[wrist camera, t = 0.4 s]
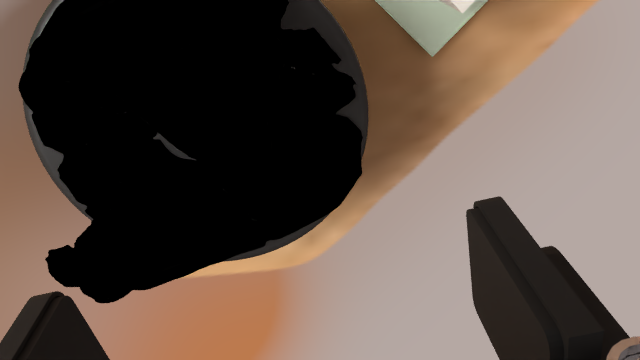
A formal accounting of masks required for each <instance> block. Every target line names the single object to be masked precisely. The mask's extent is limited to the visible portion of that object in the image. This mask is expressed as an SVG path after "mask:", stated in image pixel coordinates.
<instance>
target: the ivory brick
mask: <svg viewBox="0 0 640 360" xmlns="http://www.w3.org/2000/svg"><path fill="white" fill-rule="evenodd" d="M440 1H441V2H443V3H445V4H447V5H448V6H450V7H452V8H454V9H456V10H457V11H459V12H461V13H464V12H465V11H466V10H467V9H468V8H469V6H470V5H471V4H472V3H473V2H474V1H475V0H440Z"/></svg>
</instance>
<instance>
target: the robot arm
mask: <svg viewBox="0 0 640 360" xmlns="http://www.w3.org/2000/svg"><path fill="white" fill-rule="evenodd" d="M466 213H467V214H466V217H467V229H468V243H469V256H470V267H471V280H472V294H473V301H474V306H475V309H476V311H477V314H478V316H479V318H480V320H481V322H482V324H483V326H484V328H485V330H486V332H487V335H488V336H489V338H490V341H491V343H492V345H493V347H494V349H495V351H496V353H497V355H498V357H499V359H500V360H640V337H631V338H630V337H629V336H628V335H627V333H626V332H625V331H624V330H623V328H622V327H621V326H620V325H619V324H618V323H617V321H616V320H615V319H614V318H613V316H612V315H611V314H610V313H609V312H608V310H607V309H606V308H605V307H604V305H603V304H602V303H601V302H600V301H599V299H598V298H597V297H596V296H595V294H594V293H593V292H592V291H591V289H590V288H589V287H588V286H587V284H586V283H585V282H584V281H583V280H582V278H581V277H580V276H579V275H578V273H577V272H576V271H575V270H574V268H573V267H572V266H571V265H570V264H569V262H568V261H567V260H566V259H565V257H564V256H563V255H562V254H561V253H560V252H559V250H557V249H556V248H555V247H553V246H549V247H544V248H540V247H539V245H538V244H537V243H536V241H535V240H534V239H533V238H532V236H531V235H530V234H529V232H528V231H527V230H526V228H525V227H524V226H523V224H522V223H521V222H520V220H519V219H518V218H517V217H516V215H515V214H514V213H513V211H512V210H511V209H510V207H509V206H508V205H507V204H506V202H505V201H504V200H503V199H502V198H501V197H494V198H489V199H485V200H480V201H476V202H474V209H469V210H467V212H466ZM0 360H110V359H109V358H108V356H107V355H106V353H105V351H104V350H103V348H102V346H101V345H100V343H99V342H98V340H97V339H96V337H95V336H94V334H93V332H92V330H91V329H90V327H89V325H88V324H87V322H86V321H85V319H84V317H83V316H82V314H81V313H80V311H79V309H78V308H77V306H76V304H75V303H74V301H73V300H72V299H71V298H70V297H69V296H64V294H63V293H61V292H52V293H46V294H42V295H37V296H33V297H31V298H30V299H29V300H28V302H27V303H26V305H25V306H24V308H23V309H22V311H21V312H20V314H19V315H18V317H17V318H16V320H15V321H14V323H13V324H12V326H11V327H10V329H9V330H8V332H7V333H6V335H5V336H4V338H3V340H2V341H1V343H0Z"/></svg>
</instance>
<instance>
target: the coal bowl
mask: <svg viewBox="0 0 640 360" xmlns="http://www.w3.org/2000/svg"><path fill="white" fill-rule="evenodd" d="M19 91H20V93H21V96H22V98H23V105H24V112H25V118H26V122H27V126H28V129H29V133H30V137H31V139H32V142H33V144H34V147H35V150H36V152H37V154H38V156H39V158H40V160H41V162H42V164H43V166H44V167H45V169H46V170H47V172H48V174H49V175H50V177H51V178H52V180H53V181H54V183H55V184H56V185H57V187H58V188H59V189H60V190H61V192H62V193H63V194H64V195H65V196H66V197H67V198H68V199H69V201H70V202H71V203H72V204H73V205H74V206H75V207H77V209H79V210H80V211H81V212H82V213H83V214H84V215H85V216H86V217H88V218H89V219H90V220H91V221H92V222H91V225H90V226H88V227H87V229H86V230H85V231H84V232H83V233H82V234H81V235H80V236H79V237H78V238H77V240H76V242H75V243H74V248H72V247H70V246H69V245H66V246H64V247H62V248H58V249H53V250H49V252H48V254H49V255H48V257H47V258H46V259H45V260H46V261H47V263H48V269H49V273H50V274H51V276H52V277H54V279H55V280H56V281H58V282H59V283H60V284H62V285H63V286H65V287H80V289H81V291H82V292H83V293H84V294H85V295H87V296H89V297H91V298H93V299H94V300H95V301H96V302H98V303H110V302H114V301H117V300H119V299H121V298H123V297H124V296H126V295H127V294H128V293H130V292H131V291H132V290H147V289H151V288H153V287H157V286H159V285H162V284H164V283H166V282H169V281H172V280H175V279H178V278H181V277H184V276H186V275H189V274H191V273H193V272H195V271H197V270H199V269H202V268H205V267H207V266H210V265H213V264H216V263H219V262H223V261H233V260H240V259H246V258H251V257H255V256H258V255H262V254H265V253H268V252H271V251H274V250H276V249H279V248H281V247H283V246H285V245H288V244H290V243H291V242H293V241H295V240H297V239H298V238H300V237H302V236H303V235H305V234H306V233H308V232H309V231H311V230H312V229H313V228H314V227H316V226H317V225H318V224H319V223H320V222H322V221H323V220H324V219H325V218H326V217H327V216H328V215H329V214H330V213H331V212H332V211H333V210H334V209H336V208H337V207H338V206H340V204H341V203H342V202H343V201H344V199H345V198H346V196H347V195H348V193H349V192H350V190H351V189H352V188H353V187H354V185H355V183H356V181H357V180H358V178H359V177H360V176H361V174H362V167H361V160H362V156H363V153H364V149H365V144H366V139H367V132H368V120H369V117H368V99H367V91H366V86H365V81H364V77H363V73H362V70H361V67H360V64H359V61H358V58H357V56H356V54H355V52H354V49H353V47H352V45H351V43H350V41H349V39H348V38H347V36H346V34H345V33H344V31H343V29H342V27H341V26H340V25H339V23H338V22H337V20H336V19H335V18H334V16H333V15H332V14H331V12H330V11H329V10H328V9H327V8H326V7H325V6H324V5H323V3H322V2H321V1H320V0H52V2H51V3H50V4H49V5H48V7H47V8H46V10H45V12H44V13H43V15H42V17H41V18H40V20H39V22H38V24H37V26H36V29H35V31H34V33H33V36H32V38H31V40H30V44H29V47H28V50H27V54H26V58H25V64H24V70H23V74H22V76H21V78H20V82H19Z"/></svg>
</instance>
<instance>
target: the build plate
mask: <svg viewBox="0 0 640 360" xmlns="http://www.w3.org/2000/svg"><path fill="white" fill-rule="evenodd" d="M375 1H376V2H377V3H378V4H379V5H380V6H381V7H382V8H383V9H384V10H385V11H386V12H387V13H388V14H389V15H390V16H391V17H392V18H393V19H394V20H395V21H396V22H397V23H398V24H399V25H400V26H401V27H402V28H403V29H404V30H405V31H406V32H407V33H408V34H410V35H411V36H412V37H413V38H414V39H415V40H416V41H417V42H418V43H419V44H420V45H421V46H422V47H423V48H424V49H425V50H426V51H427V52H428V53H429V54H430V55H431V56H432V57H433V56H434V55H435V54H436V53H437V52H438V51H439V50H440V49H441V48H442V47H443V46H444V45H445V44H446V43H447V42H448V41H449V40H450V39H451V38H452V37H453V36H454V35H455V34H456V33H457V32H458V30H459V29H460V28H461V27H462V26H463V25H464V24H465V23H466V22H467V21H468V20H469V19H470V18H471V17H472V16H473V15H474V14H475V13H476V12H477V11H478V10H479V9H480V8H481V7H482V6H483V5H484V4H485V3H486V2H487V1H488V0H475V1H474V2H473V3H472V4H471V5H470V6H469V8H468V9H467V10H466V11H465V12H464V13H461V12H459V11H457V10H456V9H454V8H452V7H450V6H448V5H447V4H445V3H443V2H441V1H440V0H375Z"/></svg>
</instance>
